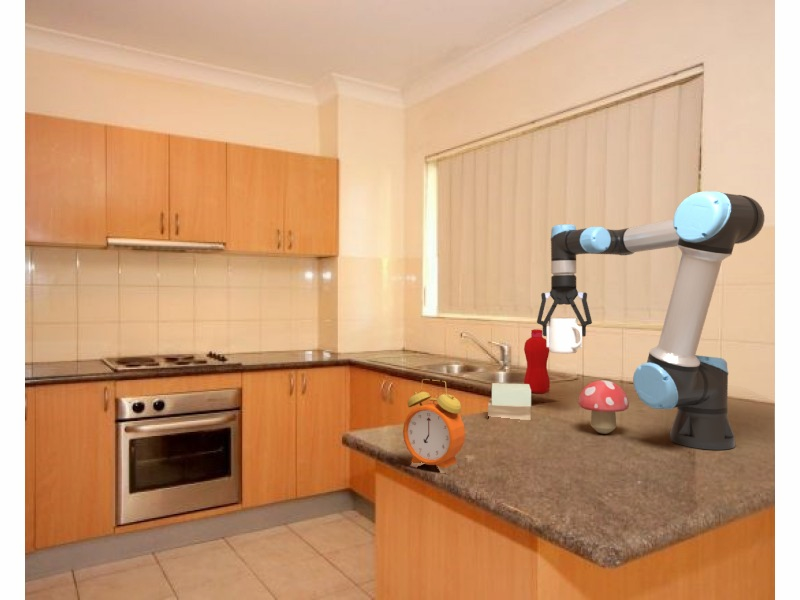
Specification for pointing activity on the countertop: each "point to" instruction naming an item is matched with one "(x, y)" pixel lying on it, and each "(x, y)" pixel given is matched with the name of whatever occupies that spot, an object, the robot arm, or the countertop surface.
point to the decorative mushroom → (603, 404)
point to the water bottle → (537, 363)
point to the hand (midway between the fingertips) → (564, 346)
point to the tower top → (511, 394)
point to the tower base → (509, 411)
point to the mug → (563, 335)
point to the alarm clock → (434, 429)
